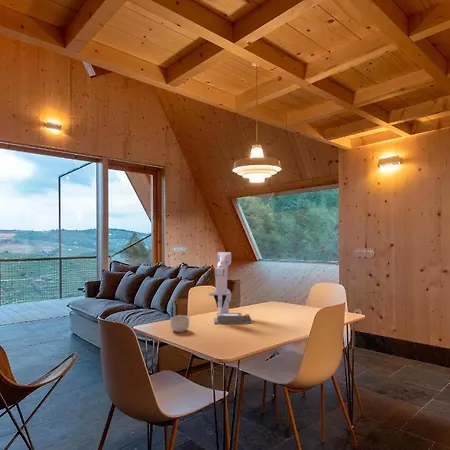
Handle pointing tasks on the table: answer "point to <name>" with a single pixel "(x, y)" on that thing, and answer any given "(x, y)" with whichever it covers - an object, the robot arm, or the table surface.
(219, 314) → the cartridge
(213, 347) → the table surface
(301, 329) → the table surface
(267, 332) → the table surface
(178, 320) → the teacup
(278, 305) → the table surface
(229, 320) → the housing
